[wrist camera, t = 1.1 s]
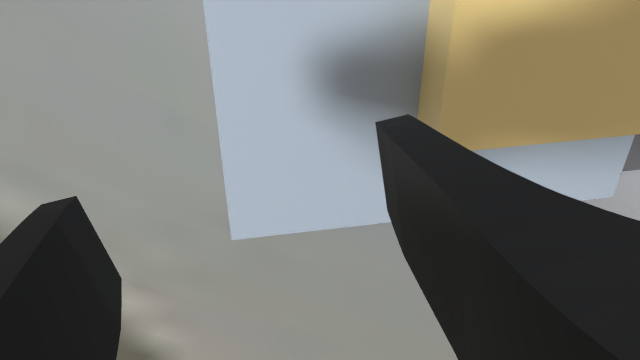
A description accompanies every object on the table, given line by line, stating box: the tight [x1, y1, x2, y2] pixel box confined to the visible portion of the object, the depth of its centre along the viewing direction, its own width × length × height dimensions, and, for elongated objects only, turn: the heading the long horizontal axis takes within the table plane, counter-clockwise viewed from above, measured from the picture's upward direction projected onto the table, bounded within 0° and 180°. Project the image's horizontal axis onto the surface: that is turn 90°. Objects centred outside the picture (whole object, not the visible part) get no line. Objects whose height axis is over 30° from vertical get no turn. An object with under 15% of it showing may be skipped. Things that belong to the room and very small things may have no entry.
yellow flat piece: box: [417, 0, 640, 151], centre depth 17 cm, size 8×6×2 cm
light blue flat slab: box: [203, 0, 635, 240], centre depth 18 cm, size 15×14×2 cm
